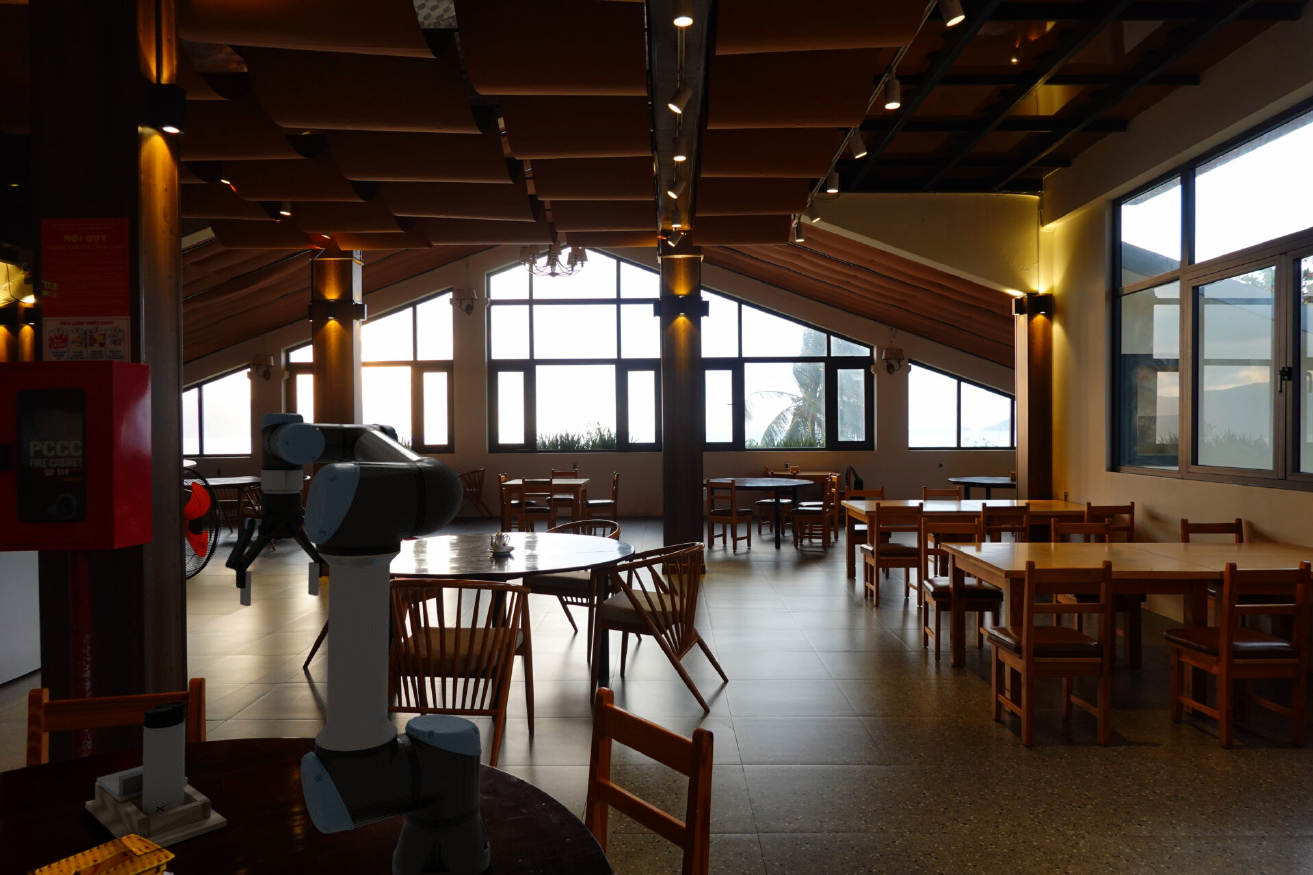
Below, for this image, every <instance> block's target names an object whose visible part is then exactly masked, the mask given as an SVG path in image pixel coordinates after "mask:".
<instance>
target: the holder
mask: <svg viewBox="0 0 1313 875" xmlns="http://www.w3.org/2000/svg"><path fill="white" fill-rule="evenodd" d="M94 784H95V786H94V787H95V788H94V791H95V792H94V799H92V800H89V801H88V800H87V801H85V806H84V807H85V809H86V810H87V811H88V812H89V813H90V814H91V815H93V816H94V817H95V818H96V820H98V821H99V822H100V823H101V824H102V825H103V826H104V827H105V828H106V829H107V830H108V831H109V832H111V833H112V835H113V836H115V838H117V839H118V838H122V837H124V836H126V835H130V834H135V835H139V836H140V837H143V838H145V839H148V840H150V841H152V842H154V843H155V844H158V845H160V846H163V848H165V847H168V846H171V845H174V844H177V843H180V842H183V841H185V840H188V839H192V838H194V837H198V836H200V835H203V834H207V833H210V832H213V831H215V830H218V829H221V828H224V827H227V826H228V823H227V822H228V819H227V818H225V817H224V816H222V815H221V814H219V813H218V812H217V811H215V810H214V809H212V800H211V799H209V797H207V796H205V795H204V794H202V793H201V792H200V791H198V790H197V789H196V788H194V787H193V786H191V785H190V784H188V782H187V783H184V804H183V806H180V807H177V808H174V809H170V810H167V811H164V812H161V813H157V814H154V815H151V816H148V817H147V816H146V815H145V814H144V813H143V811H142V796H143V795H142V796H138V797H135V798H132V799H128V800H125V801H121V802H119V801H118V800H116V799H115V798H114V797H113V796H112V795H111V794H110V793H108V792H107V791H106V790H105V789H104V788H103V787H101V786H100V785H99V784H98V783H97V782H95V783H94Z"/></svg>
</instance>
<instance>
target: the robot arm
mask: <svg viewBox="0 0 1313 875" xmlns="http://www.w3.org/2000/svg"><path fill="white" fill-rule="evenodd" d="M260 434H261V462H260V463H261V472H260V490H261V491H263V493H261V494H260V513H261V514H260V517H259V519H255V518H251V517H245V518H244V519H243V523H242V530H241V532H240V534H239V536H238V538H237V540H236V542H235V544H234V545H233V547H232V550H231V552H230V554H229V556H228V558H227V560H226V562H225V563H224V566H225V568H227V569H230V570H234V571H235V587H236V588H237V589H240V590H239V592H240V593H239V598H240V599H239V605H241V606H245V607H250V606H252V571H251V570H248V569H249V567H250V566H251V565H252V564H253V563H254V561H255V560H256V559H257V557H258V556H259V555H260V554H261V553H262V551H263V550H264V549H265V547H267V545H268V544H269V543H271V542H272V541H279V540H283V539H286V540H291V539H294V540H295V543H297V544H298V545H299V546H300V547H301V549H302V550H303V551H304V552H305V554H307V556H308V557H309V558H310V559H311V560H312V561H309V562H308V576H307V577H308V578H307V579H308V580H307V581H308V584H307V588H308V589H307V590H308V591H307V594H308V595H310V596H313V597H316V596H317V597H318V596H319V594H320V579H322V578H323V573H324V572H323V571H324V570H323V569H324V568H323V566H324V563H327V564H328V566H329V567H328V572H329V574H328V618H327V619H328V620H327V621H328V622H327V623H328V625H327V626H328V628H327V634H328V635H327V677H326V678H327V680H326V684H327V686H326V687H327V688H326V691H327V692H326V725H325V726H324V727H323V728H322V729H321V730H320V731H319V732H318V733H316V735H315V739H314V741H315V742H314V744H315V746H314V751H309V752H308V753H306V754H304V755H303V756H302V758H301V764H300V779H301V786H302V792H303V797H304V801H305V804H306V808H307V811H308V813H309V816H310V819H311V821H312V822H313V824H314V826H315V827H316V828H317V830H318V831H319V832H321V833H323V834H334V833H338V832H342V831H343V832H344V831H353V830H354V829H355V828H358V827H362V826H363V827H364V826H366V825H367V826H368V825H370V824H373V823H377V822H381V821H384V820H387V819H390V818H394V817H397V816H401V815H404V822H403V825H402V828H401V832H400V834H399V837H398V839H397V840H398V841H397V844H396V848H395V850H394V852H393V855H392V868H391V869H392V871H391V872H392V875H483V874H484V873H485V872H486V870H487V869H488V868H489V866H490V863H491V846H490V845H491V844H490V842H489V838H488V835H487V831H486V829H485V826H484V823H483V819H482V816H481V812H480V811H481V810H480V807H481V806H480V805H481V804H480V803H481V769H482V768H481V765H482V764H481V761H482V754H483V753H482V752H483V749H482V743H481V742H482V741H481V732H480V729H479V727H478V726H477V725H476V724H475V723H474V722H473V721H472V720H469V719H467V718H464V717H460V716H456V715H452V714H451V715H450V714H437V713H436V714H435V713H434V714H422V715H418V716H417V715H416V716H414V717H412V718H410V719H408V720H407V722H406V724H405V726H404V731H405V732H403V733H398V731H399V730H398V727H397V726H396V725H395V724H394V723H392V722H391V720H389V719H388V707H389V704H388V700H389V699H388V698H389V694H388V692H389V652H390V651H389V650H390V649H389V647H390V646H389V641H390V638H389V637H390V635H389V634H390V589H391V588H390V587H391V586H390V584H391V583H390V582H391V563H392V561H394V559H395V558H396V557H397V556H399V554H400V553H401V552H402V547H401V546H402V539H403V538H414V537H423V536H428V535H431V534H434V533H435V532H438V531H439V530H441V529H443V528H445V527H446V526H447V525H449V524H450V522H452V520H454V518H455V517H456V516H457V514H458V513H459V510H460V509H461V506H462V504H463V498H464V487H463V483H462V479H461V478H460V476H459V474H458V473H457V471H456V469H454V468H453V467H452V466H450V464H447V463H445V462H444V461H443V460H442V459H439V458H436V457H432V456H430V457H429V456H426V457H424V455H421V454H420V453H418V452H416V451H414V450H412V449H411V448H409V447H408V446H406V445H405V444H403V443H401V442H399V436H398V433H397V432H396V429H395V427H393V426H392V425H387V424H386V425H384V424H378V423H372V424H357V423H356V424H354V423H351V424H350V423H349V424H348V423H347V424H346V423H345V424H344V423H317V422H316V423H311V422H305V420H304V416H303V415H302V414H300V413H291V412H290V413H289V412H288V413H285V412H284V413H283V412H268V413H265V414H264V415H263V416H262V421H261V428H260ZM308 464H326V465H324V466H322V467H321V468H320V469H319V470H318V471H316V473H315V475H314V476H313V478H312V482H311V483H310V486H309V489H308V493H307V497H306V504H305V510H304V515H303V513H302V512H303V506H304V504H303V503H304V502H303V500H304V498H303V497H304V495H303V493H302V492H300V491H302V490H303V489H304V465H308ZM303 524H304V525H305V533H304V532H303V530H302V529H301V527H302V525H303ZM259 527H260V528H261V531H260V533H259V534H258V535H257V536H256V539H255V540H254V542H253V543H252V544H251V546H250V547H249V548H248V546H249V544H250V542H251V540H252V538H253V536H254V533H255V531H256V530H258V528H259ZM313 544H315V546H316V547H315V546H314V545H313ZM247 548H248V549H247Z"/></svg>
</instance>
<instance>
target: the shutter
mask: <svg viewBox="0 0 1313 875" xmlns="http://www.w3.org/2000/svg"><path fill="white" fill-rule="evenodd" d="M188 782H189V778H188V777H187V775H186V761H184V783H187V784H188ZM96 783H98V784H99V785H100V786H101V787H103V788H104V789H105V790H106V791H107V792H108V793H110V794H111V795H112V796H113V797H114V798H115V799H116V800H118V801H119V802H121V801H125V800H128V799H132V798H135V797H138V796H142V795H143V765H142V766H137V767H133V768H130V769H125V770H122V771H119V772H118V771H117V772H115V773H111V774H107V775H104V776H99V777H96Z"/></svg>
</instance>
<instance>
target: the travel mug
mask: <svg viewBox="0 0 1313 875" xmlns="http://www.w3.org/2000/svg"><path fill="white" fill-rule="evenodd" d="M143 713H144V714H143V721H144V722H143V738H142V739H143V740H142V741H143V743H142V746H143V748H142V751H143V752H142V753H143V754H142V766H143V796H142V811H143V813H144V814H145V815H146V816H147V817H148V816H151V815H154V814H157V813H161V812H164V811H167V810H170V809H174V808H177V807H180V806H183V804H184V762H185V753H186V752H185V749H186V747H185V746H186V744H185V743H186V718H185V717H186V716H185V715H186V702H185V701H172V702H171V701H170V702H166V703H162V704H158V705H155V707H152V708H149V709H145V710H144V712H143Z"/></svg>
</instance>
